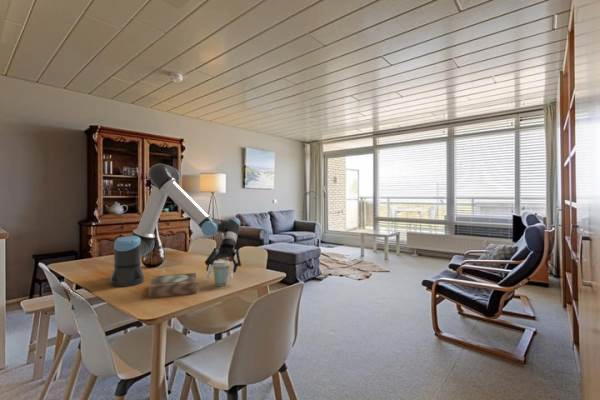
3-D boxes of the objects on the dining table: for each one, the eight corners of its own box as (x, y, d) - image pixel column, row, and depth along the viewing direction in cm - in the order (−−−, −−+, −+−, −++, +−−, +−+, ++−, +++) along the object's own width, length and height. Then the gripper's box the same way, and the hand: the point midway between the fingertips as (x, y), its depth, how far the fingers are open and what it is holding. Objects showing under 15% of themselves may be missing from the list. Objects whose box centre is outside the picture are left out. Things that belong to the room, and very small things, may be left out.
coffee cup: (225, 287, 146) (225, 263, 146) (209, 286, 148) (209, 262, 148) (232, 282, 155) (232, 259, 155) (217, 281, 156) (217, 258, 156)
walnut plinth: (148, 297, 131) (148, 285, 131) (153, 286, 147) (153, 275, 147) (196, 293, 138) (196, 281, 138) (195, 282, 155) (195, 272, 155)
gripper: (251, 246, 166) (243, 281, 151) (209, 245, 167) (198, 280, 152) (249, 238, 160) (241, 274, 145) (206, 237, 162) (194, 272, 147)
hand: (219, 277), depth 149 cm, fingers open, 11 cm apart
